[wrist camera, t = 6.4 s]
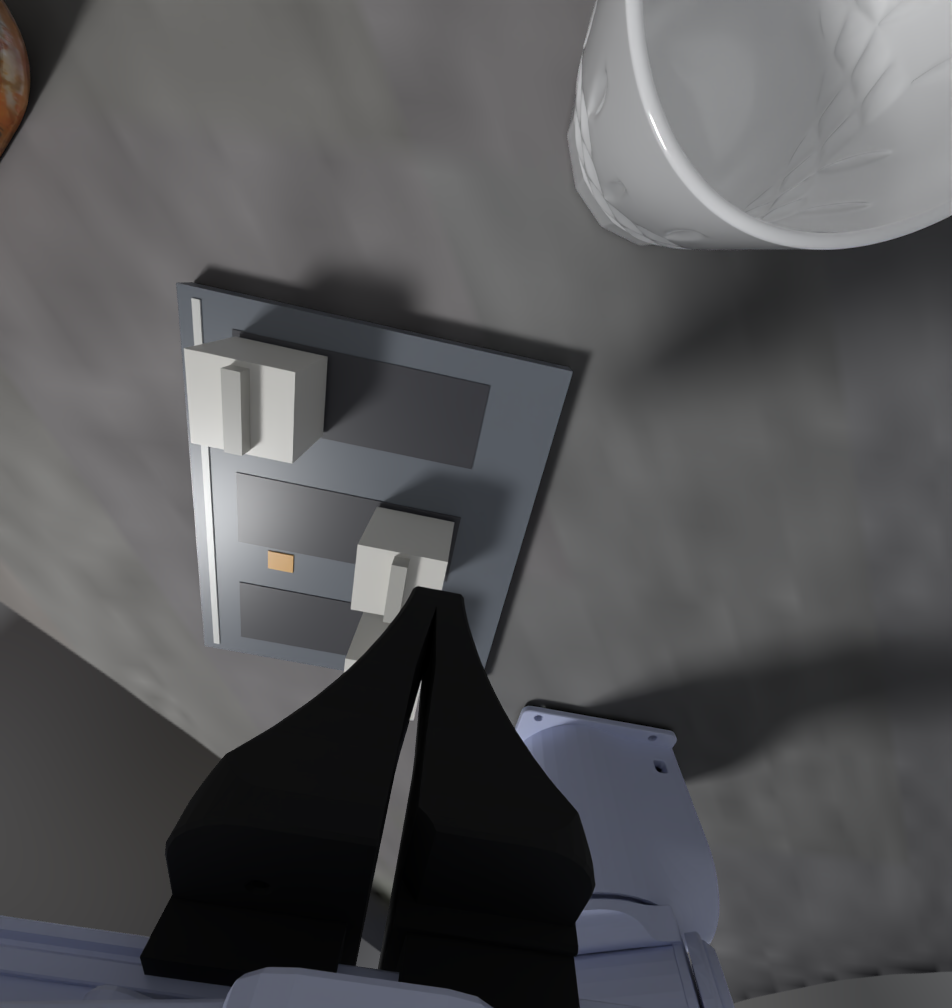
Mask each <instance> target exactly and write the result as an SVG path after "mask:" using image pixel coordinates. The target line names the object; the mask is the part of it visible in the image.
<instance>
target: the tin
mask: <svg viewBox="0 0 952 1008" xmlns="http://www.w3.org/2000/svg"><path fill="white" fill-rule="evenodd" d="M29 92H30V65H29V60H28V55H27V51H26V47H25V43H24V40H23V38H22V35H21V32H20V30H19V28H18V26H17V24H16V22H15V20H14V18H13V16H12V14H11V12H10V10H9V9H8V7H7V5H6V4H5V2H4V1H3V0H0V157H1V155H2V153H3V152H4V150H5V148H6V147H7V145H8V143H9V142H10V140H11V138H12V137H13V135H14V133H15V132H16V130H17V128H18V127H19V125H20V123H21V121H22V118H23V116H24V114H25V111H26V108H27V104H28V98H29Z"/></svg>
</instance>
